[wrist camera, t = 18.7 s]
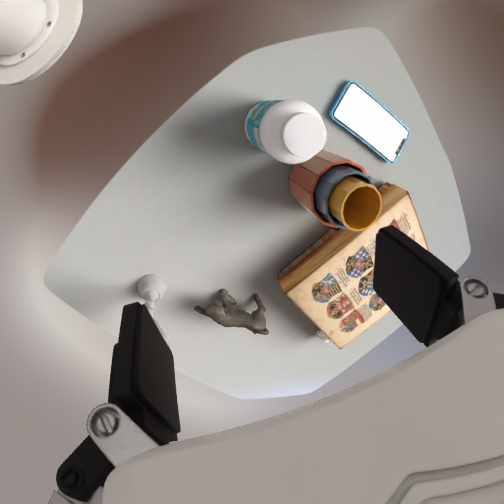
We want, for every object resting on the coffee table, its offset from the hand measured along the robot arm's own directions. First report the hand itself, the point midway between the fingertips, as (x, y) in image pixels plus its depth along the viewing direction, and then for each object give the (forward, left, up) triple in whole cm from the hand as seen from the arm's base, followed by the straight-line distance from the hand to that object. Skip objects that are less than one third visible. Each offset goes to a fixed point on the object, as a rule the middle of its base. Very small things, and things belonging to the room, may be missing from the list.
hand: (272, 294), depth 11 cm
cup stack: (+7, +16, -32) cm, 37 cm away
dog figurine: (+25, -2, -32) cm, 41 cm away
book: (+27, +23, -32) cm, 48 cm away
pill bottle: (-2, +10, -32) cm, 34 cm away
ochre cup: (+7, +16, -31) cm, 36 cm away
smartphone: (-1, +27, -32) cm, 42 cm away
